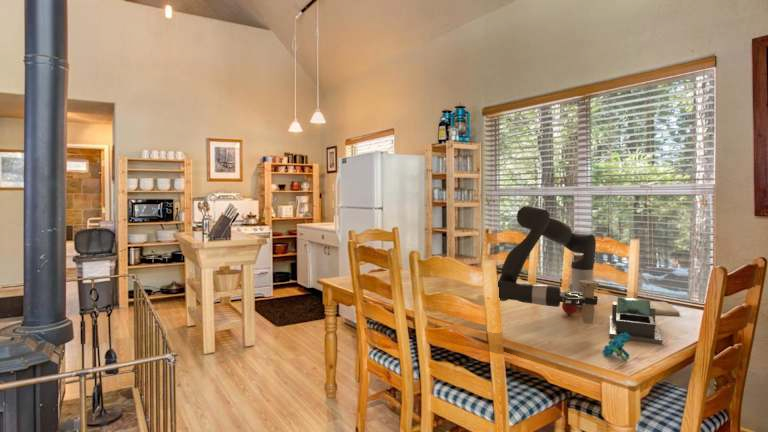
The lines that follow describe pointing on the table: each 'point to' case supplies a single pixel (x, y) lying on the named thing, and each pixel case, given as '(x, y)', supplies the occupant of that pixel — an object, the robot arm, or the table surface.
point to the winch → (634, 320)
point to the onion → (569, 308)
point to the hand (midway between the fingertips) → (597, 300)
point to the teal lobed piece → (617, 346)
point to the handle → (588, 293)
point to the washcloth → (664, 308)
